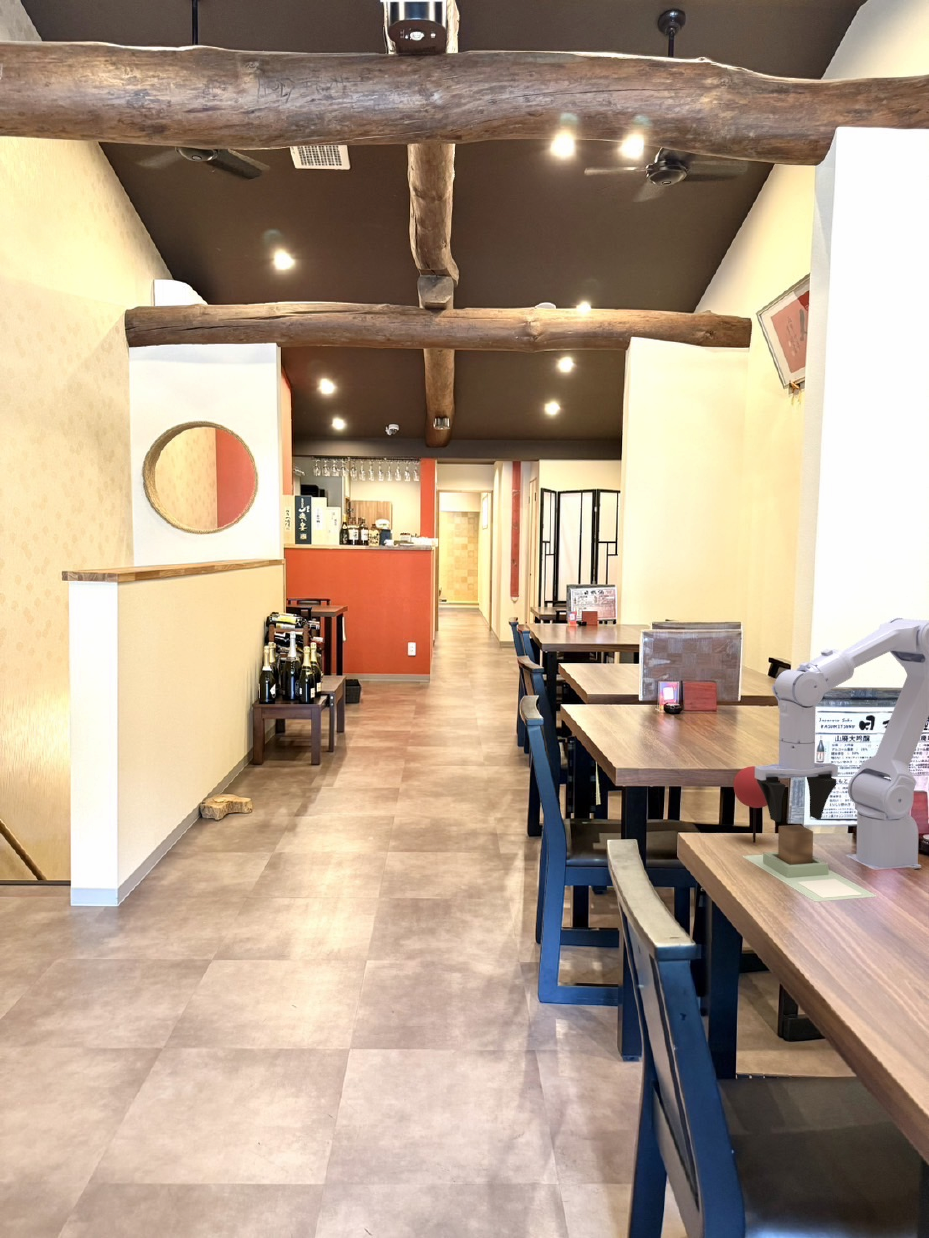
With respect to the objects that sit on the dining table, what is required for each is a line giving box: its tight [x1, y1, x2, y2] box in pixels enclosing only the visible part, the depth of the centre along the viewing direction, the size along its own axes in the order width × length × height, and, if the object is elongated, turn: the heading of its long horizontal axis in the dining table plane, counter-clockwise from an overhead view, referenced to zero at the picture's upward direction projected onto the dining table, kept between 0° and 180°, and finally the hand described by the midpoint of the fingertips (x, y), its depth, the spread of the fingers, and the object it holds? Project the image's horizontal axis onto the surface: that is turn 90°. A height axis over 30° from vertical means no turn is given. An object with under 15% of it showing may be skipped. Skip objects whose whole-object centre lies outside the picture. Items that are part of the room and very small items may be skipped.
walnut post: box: [777, 824, 814, 865], centre depth 145 cm, size 4×4×7 cm
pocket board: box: [741, 851, 879, 903], centre depth 142 cm, size 11×22×2 cm, turn 11°
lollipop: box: [733, 765, 768, 844], centre depth 159 cm, size 8×8×15 cm
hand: (795, 819), depth 144 cm, fingers open, 7 cm apart
